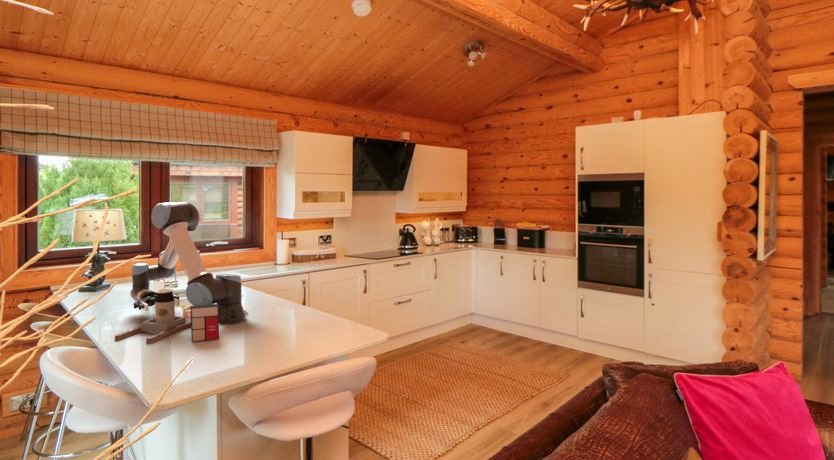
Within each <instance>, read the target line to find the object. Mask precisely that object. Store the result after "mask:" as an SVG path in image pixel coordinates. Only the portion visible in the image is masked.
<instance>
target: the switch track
mask: <svg viewBox="0 0 834 460" xmlns="http://www.w3.org/2000/svg"><path fill="white" fill-rule="evenodd" d="M185 322H186V323H183V324H181V325H178V326H175V327H173V328H171V329H168V330H166V331H163V332H160V333H156V334H154V335H151V336H148V337H147V338H145V339H146V342H145V343H146V344H153V343H155V342H158V341H159V340H162V339H164V338H167V337H169V336H171V335H174V334H177V333H178V332H182V331H183V330H186V329H189V328H191V321H185ZM142 332H143V331H141V325H139V326H137V327H134V328H131V329H127V330H126V331H123V332H121V333H118V334H115V335H114V340H115V341H120V340H123V339H125V338H129V337H132V336H134V335H136V334H139V333H142Z"/></svg>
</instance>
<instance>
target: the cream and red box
mask: <svg viewBox="0 0 834 460" xmlns="http://www.w3.org/2000/svg"><path fill="white" fill-rule="evenodd" d="M190 322H191V327H190V328H191V329H190V335H191V342H192V343H195V342H206V341H215V340H220V324H219V307H218V304H216V303H215V304H209V305H196V306H194V305H191V306H190Z"/></svg>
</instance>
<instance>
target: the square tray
mask: <svg viewBox="0 0 834 460" xmlns="http://www.w3.org/2000/svg"><path fill="white" fill-rule="evenodd" d="M186 322H187V321H186V316H176V315H175V320H174V321H172V322H169V323H166V324H161V323H156V316H154V317H151V318H150V319H147V320H145V321H142V322H140V326H141V331H142V332H144V333H145V332H146V333H147V332H148V333H156V334H158V333H160V332H163V331H166V330H168V329H171V328H173V327H175V326H178V325H181V324H183V323H186Z"/></svg>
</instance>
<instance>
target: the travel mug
mask: <svg viewBox="0 0 834 460" xmlns="http://www.w3.org/2000/svg"><path fill="white" fill-rule="evenodd" d="M154 292H155V293H156V297H155V305H154V306H155V307H154V308H155V309H154V310H155V317H156V323H161V324H166V323H169V322H172V321H174V320H175V316H176V311H175V308H176V307H175V306H176V305H175V303H174V296H175V295H174V289H173V288H161V289H156V290H155V291H154Z"/></svg>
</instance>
